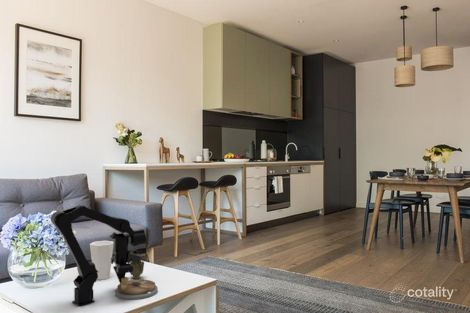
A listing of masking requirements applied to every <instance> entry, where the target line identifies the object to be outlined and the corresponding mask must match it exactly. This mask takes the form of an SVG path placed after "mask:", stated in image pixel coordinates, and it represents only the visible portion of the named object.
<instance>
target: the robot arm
mask: <svg viewBox="0 0 470 313" xmlns="http://www.w3.org/2000/svg"><path fill="white" fill-rule="evenodd" d="M80 217H85V218H88V219H91V220H94V221H97V222H100V223H103V224H105V225H106V226H108V227H110V228H111V229H113V230H114V231H116V232H119V233H116V232H114V231H113V233H112V234H111V235H109V238H111V239H112V240H114V248H113V254H114V255H112V258H111V265H114V266H112V268H113V270H114V273H115V275H116V277H117V280H118V282H119V284H121V278H123V277H126V274H127V273H128V274H129V273H130V272H133V266H132V265H131V264H130V261H131V262H136V263H138V264H140V262H141V261H142V258H143V256H142V255H141V254H140V253H138V251H137V250H135V249H133V250H132V251H131V250H130V249H129V245H130V246H131V247H137V246H143V245H146V243H147V236H146V233H145V229H142V228H139V229H136V230H134V229H133V228H132V227H131V223H130V221H129V220H128V219H125V218H122V217H118V216H112V215H107V214H105V213H102V212H100V211H97V210H94V209H92V208H90V207H89V208H88V207H87V206H85V205H84V204H79V205H78V204H77V205H76V206H74V207H71V208H68V209H65V210H62V211H60V210H57V211H55V212H53V213H52V214H51V217H50V222H51V224H52V225H53V226H54V227H55V229H56V230H57V231H58V232H59V233H60V234H61V236H62V237H63V240H64V241H65V244H66V246H67V247H68V248H67V249H68V250H69V252H70V254H71V256H72V258H73V259H74V261H75V264H76V267H77V273H78V275H77V276H76V278H74V280H73V285H74V286H75V287H74V288H73V290H74V292H73V293H74V295H73V296H74V298H73V301H72V302H71V303H72V304H74V305H76V306H77V305H78V306H79V307H83V306H86V305H88V304H92V303H94V302H96V301H95V299H94V288H93V287H94V284H95V283H96V282H97V278H98V274H97V272H98V271H97V270H96V267H95V264H94V263H93V262H92V260H89V261H88V260H87V258H86V255H85V253H84V252H83V250H82V247H81V246H80V244H79V242H78V239H77V237H76V236H75V233H74V232H73V225H72V222H73V221H76V220H77V219H79V218H80Z"/></svg>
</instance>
